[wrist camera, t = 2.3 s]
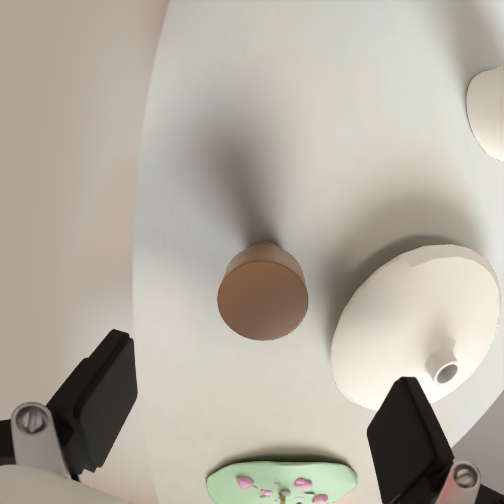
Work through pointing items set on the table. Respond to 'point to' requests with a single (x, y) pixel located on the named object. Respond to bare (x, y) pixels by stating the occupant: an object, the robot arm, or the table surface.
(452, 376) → the vase
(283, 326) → the stopper
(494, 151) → the pill bottle
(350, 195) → the table surface
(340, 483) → the plant
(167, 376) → the table surface
